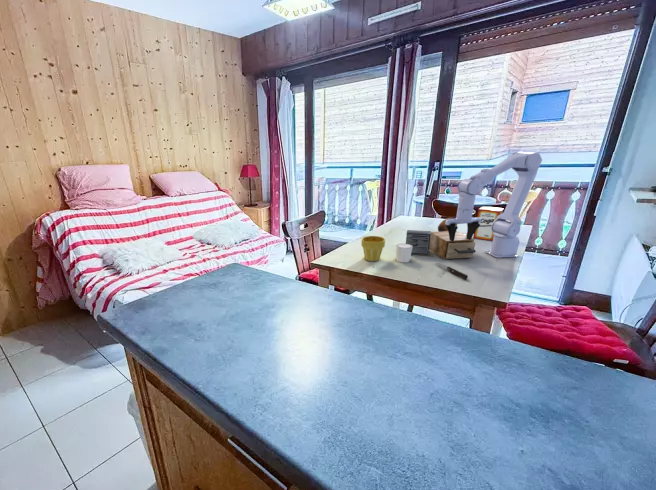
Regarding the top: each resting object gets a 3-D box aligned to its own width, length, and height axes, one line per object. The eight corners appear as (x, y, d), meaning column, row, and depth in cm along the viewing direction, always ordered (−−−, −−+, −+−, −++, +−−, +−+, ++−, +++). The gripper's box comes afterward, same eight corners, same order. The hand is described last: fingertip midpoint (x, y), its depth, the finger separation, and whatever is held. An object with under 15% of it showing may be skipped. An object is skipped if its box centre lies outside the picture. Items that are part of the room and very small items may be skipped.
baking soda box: (497, 238, 170) (503, 207, 164) (493, 241, 166) (500, 210, 160) (476, 235, 177) (482, 205, 171) (473, 238, 173) (478, 208, 166)
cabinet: (471, 257, 147) (474, 239, 144) (443, 259, 147) (445, 240, 144) (453, 247, 161) (456, 230, 158) (428, 249, 161) (430, 232, 158)
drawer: (479, 260, 141) (481, 245, 138) (452, 262, 141) (455, 247, 138) (456, 247, 157) (458, 234, 155) (433, 249, 157) (434, 235, 155)
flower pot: (371, 264, 146) (372, 243, 142) (356, 258, 155) (356, 238, 151) (388, 259, 150) (390, 239, 147) (372, 253, 159) (373, 234, 155)
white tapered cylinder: (408, 263, 144) (410, 248, 142) (393, 261, 148) (394, 246, 146) (413, 259, 149) (414, 244, 147) (397, 256, 153) (399, 242, 151)
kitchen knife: (467, 280, 126) (468, 275, 125) (465, 280, 125) (466, 275, 125) (436, 264, 142) (436, 260, 141) (434, 264, 142) (434, 260, 141)
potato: (443, 241, 180) (431, 231, 182) (454, 230, 187) (442, 221, 189) (452, 232, 174) (439, 222, 176) (462, 221, 180) (450, 212, 183)
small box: (428, 251, 157) (431, 230, 154) (428, 255, 152) (431, 234, 148) (405, 249, 162) (407, 229, 158) (404, 253, 156) (406, 232, 152)
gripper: (475, 205, 140) (470, 236, 145) (443, 208, 140) (438, 238, 145) (487, 208, 134) (480, 240, 139) (452, 211, 133) (447, 243, 138)
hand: (460, 239), depth 141 cm, fingers open, 7 cm apart
